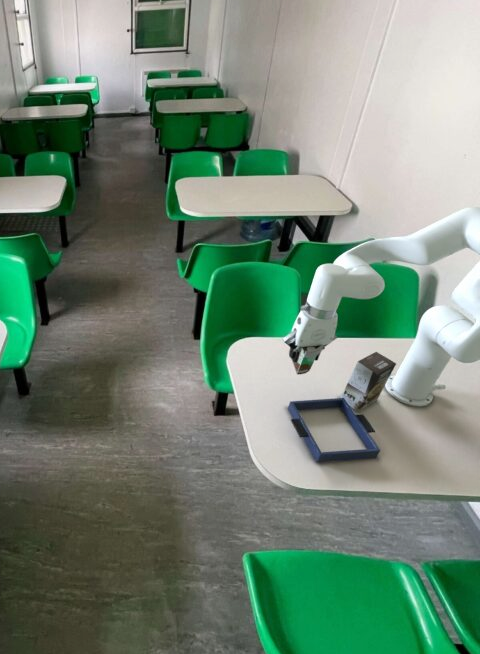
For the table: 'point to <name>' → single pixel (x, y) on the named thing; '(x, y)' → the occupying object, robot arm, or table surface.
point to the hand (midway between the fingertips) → (303, 357)
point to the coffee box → (367, 380)
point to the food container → (306, 358)
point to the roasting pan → (356, 421)
